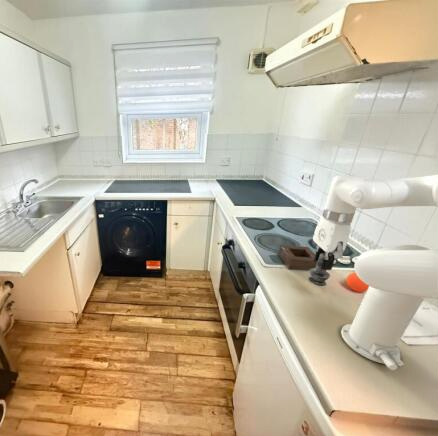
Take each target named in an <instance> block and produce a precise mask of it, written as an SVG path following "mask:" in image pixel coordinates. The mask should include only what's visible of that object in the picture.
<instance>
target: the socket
mask: <svg viewBox="0 0 438 436" xmlns="http://www.w3.org/2000/svg"><path fill="white" fill-rule="evenodd" d="M315 254H316V253H315V252H314V251H313V250H312V249H311V248H310V247H309V246H297V245H280V247H279V251H278V256H279V257H280V259H281V260H282V262H283V263H284V265H285V266H286V268H287V269H288V270H296V271H297V270H298V271H309V272H310V269H311V268H315V267H316V265H317V263H316V262H314V257H315Z"/></svg>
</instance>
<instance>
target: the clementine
mask: <svg viewBox="0 0 438 436" xmlns="http://www.w3.org/2000/svg"><path fill="white" fill-rule="evenodd" d="M345 282H346V284H347V286H348V287H349V288H350V289H351V290H353V291H355V292H367V290H368V288H369V285H367V284H365V283H364V282H363V281H362V280H361V279H360V278H359V277H358V276H357V274H356V272H352V273H349V274H348V275H347V277H346V281H345Z"/></svg>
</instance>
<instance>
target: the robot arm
mask: <svg viewBox="0 0 438 436" xmlns="http://www.w3.org/2000/svg"><path fill="white" fill-rule="evenodd" d="M397 207H399V208H400V207H438V174H432V175H424V176H423V175H422V176H413V177H403V178H392V179H391V178H390V179H375V180H366V179H365V178H363V177H362V176H360V175H353V174H338V175H335V176H334V177H333V178H332V181H331V183H330V187H329V191H328V193H327V197H326V201H325V205H324V208H323V211H322V214H321V216H320V217H319V219H318V222H317V223H316V227H315V229H314V233H313V236H312V240H313V242H314V243H315V244H316V247H315V253H314V254H315V257H314V262H316V261H318V259H319V256H320V254H321V253H325V252H326V254H325V258H323V260H322V263H321V267H320V268H321V269H322V270H326V271H332V269H333V267H334V263H335V261H337V260H341V259H343V253H344V252H345V250H346V249H347V248H346V247H347V245H348V241H349V237H350V233H351V226H352V223H353V220H354V217H355V214H356V210H357V209H359V210H375V209H383V208H384V209H385V208H397ZM353 268H354V269H353V270H354V273H356V274H357V276H358V277H359V278H360V279H361V280H362V281H363V282H364V283H365V284H367V285H369V288H368V290H366V291H365V294H364V296H363V299H362V301H361V302H360V305H359V307H358V309H357V311H356V314H355V316H354V318H353V321H352V323H347V324H344V325H343V326H342V328H341V331H340V334H341V337H342V339H343V341H344V342H345V343H346V345H347V346H349V348H351V349H352V350H353V351H355V352H356V353H358V354H359V355H360V356H362V357H364V358H366V359H368V360H370V361H372V362H376V363H378V364H382V365H385V366H386V367H387V368H388V369H389V370H391V371H395V370H397V369H398V367H402V366H404V365H405V363H404V362H403V361H402V360H401V356H402V355H401V351H400V349H401V348H399V347H398V344H399V343H400V341H401V339H402V338H403V335H404V334H405V332H406V330H407V328H408V327H409V325H410V324H411V322H412V320H413V318H414V317H415V314H416V313H417V312H418V310H419V309H420V307H421V306H422V303H423V302H424V300H425V299H432V300H438V248H436V249H430V248H428V247H425V246H421V245H417V244H416V245H415V244H402V245H394V246H388V247H382V248H381V247H380V248H373V249H370V250H365V251H364V252H361V254H360V255H358V256H357V257H356V259H355V261H354V265H353Z"/></svg>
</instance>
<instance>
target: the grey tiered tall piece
mask: <svg viewBox="0 0 438 436" xmlns="http://www.w3.org/2000/svg"><path fill="white" fill-rule="evenodd" d="M325 254H326V252H325V253H321V254H320V256H319V259H318V261H316V263H317V265H316V267H315V268H311V269H310V271H309V275H310V276H308V278H307V280H308V282H309V283H310V284H312V285H315V286H317V287H325V286H327V282H326V281H328V279H329V278H330V277H331V274H330V272H328V271H327V270H322V269H321V268H320V267H321V263H322V260H323V258H325Z"/></svg>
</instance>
